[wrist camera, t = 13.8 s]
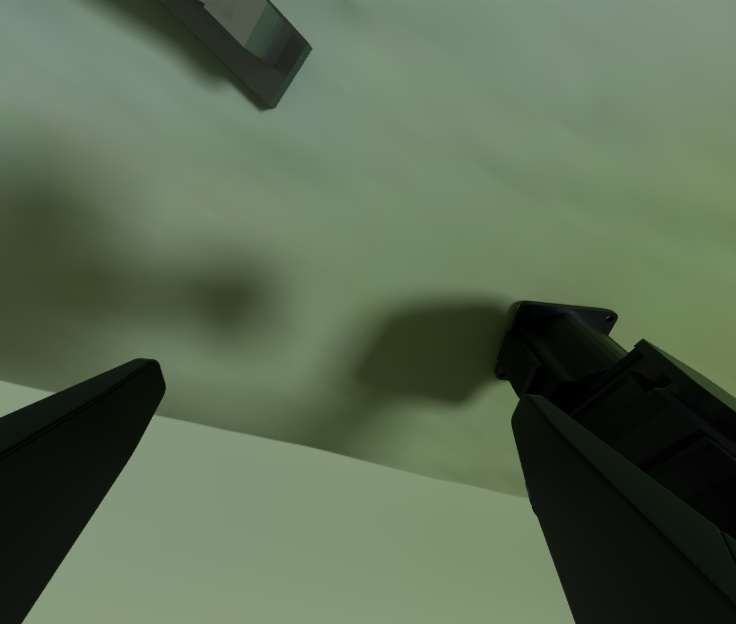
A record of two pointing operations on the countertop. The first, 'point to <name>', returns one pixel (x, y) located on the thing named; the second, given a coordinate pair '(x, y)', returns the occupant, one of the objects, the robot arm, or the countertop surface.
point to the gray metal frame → (247, 41)
